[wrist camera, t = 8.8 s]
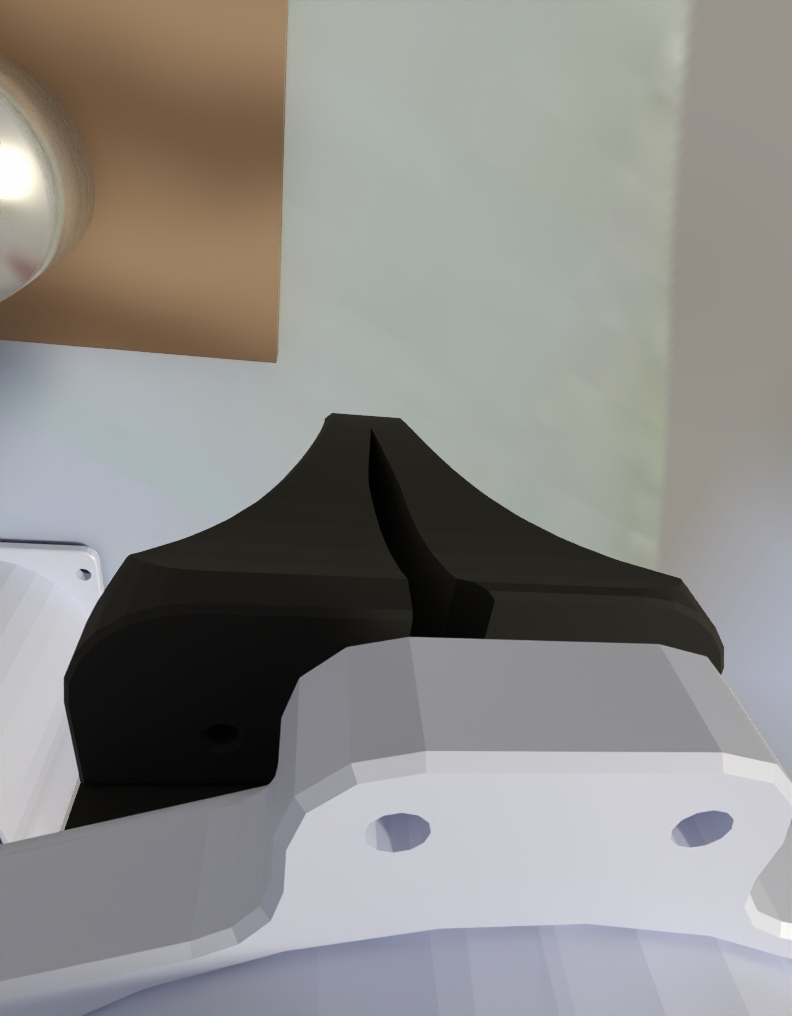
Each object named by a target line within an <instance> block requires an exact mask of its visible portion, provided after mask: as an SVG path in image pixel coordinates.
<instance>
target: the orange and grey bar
mask: <svg viewBox="0 0 792 1016" xmlns="http://www.w3.org/2000/svg"><path fill="white" fill-rule="evenodd" d="M94 202H95V178H94V172H93V166H92V162H91V158H90V155H89V151H88V148H87V146H86V143H85V141H84V139H83V136H82V134H81V132H80V130H79V128H78V126H77V124H76V123H75V121H74V119H73V117H72V116H71V114H70V113H69V112H68V110H67V109H66V107H65V106H64V104H63V103H62V102H61V101H60V99H59V98H58V97H57V96H56V95H55V93H54V92H53V91H52V90H51V89H50V88H49V87H48V86H47V85H46V84H45V83H44V82H43V81H42V80H41V79H40V78H39V77H37V76H36V75H35V74H34V73H32V72H31V71H30V70H29V69H27V68H26V67H25V66H23V65H22V64H20V63H18V62H17V61H15V60H14V59H12V58H11V57H9V56H7V55H5V54H3V53H1V52H0V302H1V301H3V300H5V299H6V298H8V297H10V296H11V295H13V294H14V293H16V292H17V291H19V290H20V289H21V288H23V287H24V286H26V285H27V284H28V283H30V282H31V281H33V280H34V279H35V278H37V277H38V276H40V275H41V274H43V273H44V272H45V271H47V270H48V269H50V268H51V267H52V266H54V265H55V264H57V263H58V262H59V261H61V260H62V259H64V258H65V257H66V256H67V255H68V254H70V253H71V252H72V251H73V250H74V249H75V248H76V246H77V245H78V244H79V243H80V241H81V240H82V238H83V236H84V235H85V233H86V231H87V229H88V226H89V224H90V221H91V218H92V214H93V210H94Z"/></svg>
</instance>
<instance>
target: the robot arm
mask: <svg viewBox="0 0 792 1016" xmlns="http://www.w3.org/2000/svg"><path fill="white" fill-rule="evenodd" d="M80 569H86V570H88V571H89V572H90V573H88V574H87V573H83V572H82V571H81V570H80ZM723 669H724V646H723V644H722V642H721V639H720V637H719V635H718V632H717V630H716V628H715V626H714V625H713V624H712V622H711V621H710V619H709V618H708V616H707V615H706V613H705V612H704V611H703V609H702V608H701V606H700V605H699V603H698V602H697V601H696V599H695V598H694V596H693V595H692V594H691V592H690V591H689V589H688V588H687V586H686V585H685V584H684V583H683V581H682V580H681V579H680V578H677V577H673V576H670V575H666V574H663V573H660V572H656V571H653V570H649V569H646V568H642V567H639V566H636V565H632V564H629V563H625V562H622V561H619V560H616V559H613V558H610V557H607V556H605V555H602V554H600V553H597V552H594V551H592V550H589V549H586V548H584V547H581V546H579V545H576V544H574V543H572V542H569V541H567V540H565V539H562V538H560V537H558V536H556V535H554V534H552V533H550V532H548V531H546V530H544V529H542V528H540V527H538V526H536V525H534V524H532V523H530V522H528V521H526V520H525V519H523V518H521V517H519V516H517V515H516V514H514V513H512V512H511V511H509V510H508V509H506V508H505V507H503V506H501V505H500V504H498V503H497V502H495V501H494V500H492V499H490V498H489V497H488V496H486V495H485V494H483V493H482V492H481V491H479V490H478V489H477V488H475V487H474V486H473V485H472V484H470V483H469V482H468V481H467V480H465V479H464V478H463V477H462V476H460V475H459V474H458V473H457V472H456V471H454V470H453V469H452V468H451V467H450V466H449V465H448V464H446V463H445V462H444V461H443V460H442V459H441V458H440V457H439V456H438V455H437V454H436V453H435V452H434V451H433V450H432V449H431V448H430V447H429V446H427V445H426V444H425V442H424V441H423V440H422V439H421V438H420V437H419V436H418V435H417V434H416V433H415V432H414V431H413V430H412V429H411V428H410V427H409V426H408V425H407V424H406V423H405V422H404V421H403V420H401V419H400V418H390V417H376V416H363V415H350V414H336V413H331V414H330V415H329V416H328V417H326V418H325V422H324V425H323V427H322V429H321V431H320V433H319V435H318V436H317V438H316V440H315V441H314V443H313V444H312V445H311V447H310V448H309V450H308V451H307V452H306V454H305V455H304V456H303V458H302V459H301V460H300V461H299V462H298V464H297V465H296V466H295V467H294V468H293V469H292V470H291V471H290V472H289V473H288V475H287V476H286V477H285V478H284V479H283V480H282V481H281V482H280V483H279V484H278V485H276V486H275V487H274V488H273V489H272V490H271V491H270V492H269V493H267V494H266V495H265V496H264V497H262V498H261V499H260V500H259V501H257V502H256V503H254V504H253V505H251V506H249V507H248V508H246V509H244V510H243V511H241V512H240V513H238V514H236V515H235V516H233V517H231V518H230V519H228V520H226V521H224V522H222V523H220V524H218V525H215V526H213V527H211V528H209V529H207V530H204V531H202V532H200V533H197V534H195V535H192V536H190V537H187V538H184V539H182V540H179V541H175V542H172V543H169V544H166V545H162V546H159V547H156V548H152V549H149V550H146V551H142V552H139V553H135V554H131V555H129V556H128V557H127V558H126V559H125V561H124V562H123V564H122V565H121V567H120V568H119V570H118V571H117V572H116V574H115V575H114V577H113V578H112V580H111V581H110V583H109V584H108V586H107V588H106V589H105V591H104V586H103V579H102V572H101V565H100V558H99V556H98V553H97V552H96V551H95V550H93V549H91V548H90V547H86V546H73V545H51V544H29V543H6V542H0V1016H792V781H791V780H790V778H789V777H788V776H787V774H786V772H785V771H784V769H783V768H782V766H781V765H780V763H779V762H778V760H777V759H776V757H775V756H774V754H773V752H772V751H771V749H770V748H769V746H768V745H767V743H766V742H765V740H764V739H763V737H762V736H761V734H760V733H759V731H758V730H757V728H756V727H755V725H754V723H753V722H752V720H751V719H750V717H749V716H748V714H747V713H746V711H745V710H744V708H743V707H742V705H741V704H740V702H739V701H738V699H737V698H736V696H735V695H734V693H733V691H732V690H731V688H730V687H729V685H728V684H727V683H726V681H725V680H724V679H723V677H722V676H721V674H722V671H723ZM78 777H79V778H80V782H81V783H80V786H79V789H78V792H77V795H76V798H75V801H74V803H73V806H72V810H71V812H70V815H69V818H68V821H67V824H66V827H65V830H64V831H60V828H61V826H62V823H63V820H64V817H65V814H66V812H67V809H68V806H69V803H70V800H71V797H72V794H73V792H74V789H75V786H76V783H77V780H78Z"/></svg>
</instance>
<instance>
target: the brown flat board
mask: <svg viewBox="0 0 792 1016" xmlns="http://www.w3.org/2000/svg"><path fill="white" fill-rule="evenodd" d="M287 20H288V0H0V52H1V53H3V54H5V55H7V56H9V57H11V58H12V59H14V60H15V61H17V62H18V63H20V64H22V65H23V66H25V67H26V68H27V69H29V70H30V71H31V72H32V73H34V74H35V75H36V76H37V77H39V78H40V79H41V80H42V81H43V82H44V83H45V84H46V85H47V86H48V87H49V88H50V89H51V90H52V91H53V92H54V93H55V95H56V96H57V97H58V98H59V99H60V101H61V102H62V103H63V104H64V106H65V107H66V109H67V110H68V112H69V113H70V114H71V116H72V117H73V119H74V121H75V123H76V124H77V126H78V128H79V130H80V132H81V134H82V136H83V139H84V141H85V143H86V146H87V148H88V151H89V155H90V158H91V162H92V166H93V172H94V178H95V202H94V210H93V214H92V218H91V221H90V224H89V226H88V229H87V231H86V233H85V235H84V236H83V238H82V240H81V241H80V243H79V244H78V245H77V246H76V248H75V249H74V250H73V251H72V252H71V253H70V254H68V255H67V256H66V257H65V258H64V259H62V260H61V261H59V262H58V263H57V264H55V265H54V266H52V267H51V268H50V269H48V270H47V271H45V272H44V273H43V274H41V275H40V276H38V277H37V278H35V279H34V280H33V281H31V282H30V283H28V284H27V285H26V286H24V287H23V288H21V289H20V290H19V291H17V292H16V293H14V294H13V295H11V296H10V297H8V298H6V299H5V300H3V301H1V302H0V340H10V341H22V342H34V343H46V344H57V345H69V346H81V347H93V348H105V349H117V350H128V351H140V352H152V353H164V354H176V355H188V356H200V357H211V358H223V359H235V360H247V361H259V362H271V363H276V361H277V355H278V330H279V296H280V261H281V227H282V192H283V158H284V124H285V89H286V55H287Z"/></svg>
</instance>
